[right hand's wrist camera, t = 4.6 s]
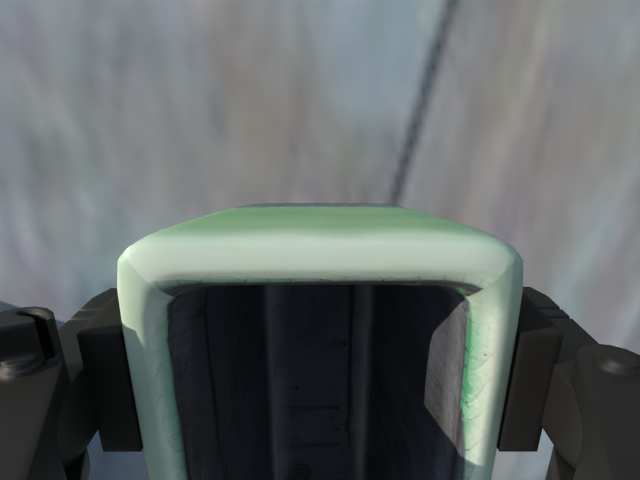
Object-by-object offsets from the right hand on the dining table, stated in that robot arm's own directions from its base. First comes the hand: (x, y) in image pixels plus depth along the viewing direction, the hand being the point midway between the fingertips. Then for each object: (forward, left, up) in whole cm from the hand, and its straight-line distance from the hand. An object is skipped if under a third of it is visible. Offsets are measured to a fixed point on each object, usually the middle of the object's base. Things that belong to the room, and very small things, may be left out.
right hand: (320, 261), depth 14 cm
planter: (+3, +10, -1) cm, 11 cm away
